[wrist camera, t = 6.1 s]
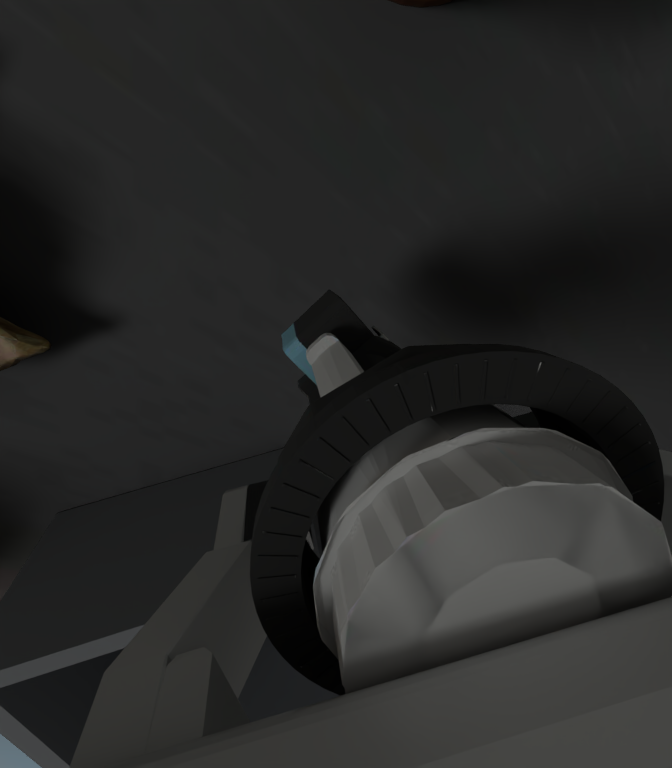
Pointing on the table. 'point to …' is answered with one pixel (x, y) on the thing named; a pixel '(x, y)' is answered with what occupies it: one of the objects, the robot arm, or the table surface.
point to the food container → (420, 2)
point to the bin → (117, 606)
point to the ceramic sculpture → (18, 344)
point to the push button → (448, 504)
